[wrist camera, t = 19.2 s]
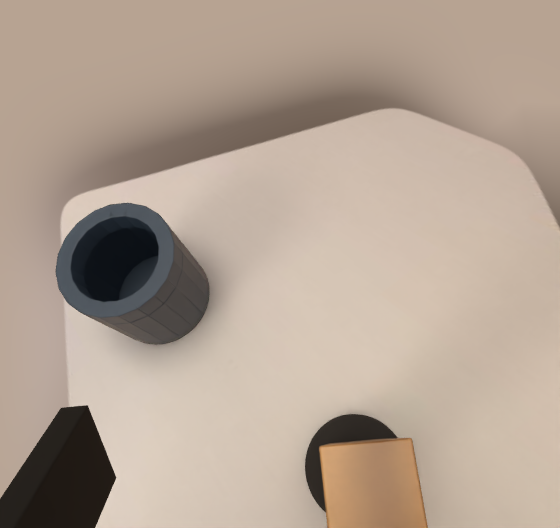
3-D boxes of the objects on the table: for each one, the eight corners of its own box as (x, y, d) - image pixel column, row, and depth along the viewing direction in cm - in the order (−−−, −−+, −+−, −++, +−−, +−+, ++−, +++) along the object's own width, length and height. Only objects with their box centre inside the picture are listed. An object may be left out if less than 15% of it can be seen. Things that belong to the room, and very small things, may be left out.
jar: (107, 272, 45) (46, 229, 36) (193, 238, 45) (156, 186, 36) (127, 359, 42) (67, 336, 32) (221, 322, 42) (188, 288, 33)
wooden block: (334, 499, 35) (330, 552, 18) (328, 443, 36) (318, 446, 20) (387, 495, 35) (431, 545, 18) (378, 438, 36) (412, 437, 19)
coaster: (291, 436, 38) (290, 436, 37) (380, 399, 38) (381, 399, 37) (329, 541, 35) (328, 543, 34) (426, 501, 35) (427, 502, 34)
